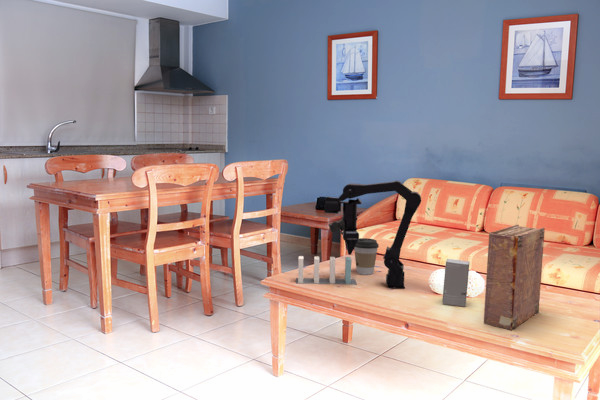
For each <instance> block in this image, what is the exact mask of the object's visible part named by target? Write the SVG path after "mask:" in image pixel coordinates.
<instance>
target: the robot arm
mask: <svg viewBox="0 0 600 400" xmlns="http://www.w3.org/2000/svg"><path fill="white" fill-rule="evenodd" d="M388 192H396V193H397V194H398V195H399V196H401V197H402V198H403V200H405V203H404V204H405V205H404V210H403V215H402V218H401V219H400V223H399V225H398V228H397V231H396V233H395V237H394V240H393V242H392V244H391V246H390V247H389V246H386V250H385V253H384V254H383V257H382V259H383V264H384V266H385V267H386V268H387V269H388V270H387V273H386V275H385V284H386V287H388V289H405V288H406V287H405V271H404V265H405V264H404V263H403V262H402V261H401V260H400V257H401V256H400V255H401V250H402V249H401V248H402V246H403V244H404V241H405V239H406V235H407V232H408V230H409V227H410V224H411V222H412V218H413V216H414V215H415V213H416V212H417V211H418V208H419V207H420V205H421V203H422V196H421V194H420V193H419V192H417V191H412V190H411V189H409V187H407V186H406V185H404V183H402V182H401V181H400V180H394V181H387V182H386V181H385V182H378V183H367V184H363V183H362V184H361V183H351V182H350V183H347V184H346V185H345V186H344V187H343V189H342V194H340V195H339V196H338V197H334V196H333V197H332V196H325V202H324V205H323V208H324V209H323V210H324V214H331V215H332V214H334V215H339V214H340V212H342V216H341V218H340V220H336V221H332V222H330V223H328V227H329V231H330V233H331V234H332V233H335V232H337V231H340V234H341V235H342V239H343V241H344V243H345V249H346V250H347V254H348V255H349V256H350V255H352V253H353V251H354V247H355V245H356V243H357V241H358V239H360V233H359V232H358V228H357V224H358V205H362V204H363V202H362V201H361V199H360V198H359V197H361V196H365V195H369V194H379V193H388ZM354 198H356V199H354ZM347 199H348V201H347Z"/></svg>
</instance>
